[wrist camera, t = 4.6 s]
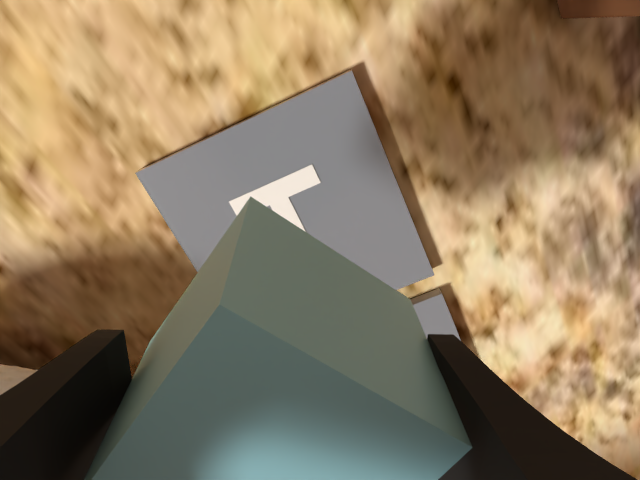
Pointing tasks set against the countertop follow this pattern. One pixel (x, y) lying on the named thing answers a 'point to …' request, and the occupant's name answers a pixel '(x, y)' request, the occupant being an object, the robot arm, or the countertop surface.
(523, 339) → the countertop surface
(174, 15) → the countertop surface
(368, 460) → the light blue cube
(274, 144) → the tile
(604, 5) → the walnut screen
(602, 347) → the countertop surface
